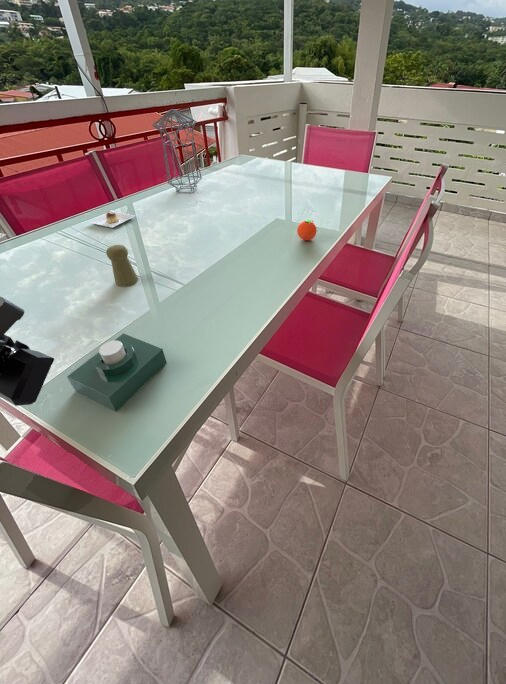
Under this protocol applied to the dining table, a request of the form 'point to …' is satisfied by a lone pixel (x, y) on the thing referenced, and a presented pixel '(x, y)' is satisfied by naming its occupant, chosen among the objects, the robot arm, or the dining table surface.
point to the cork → (121, 266)
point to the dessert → (112, 219)
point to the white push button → (112, 352)
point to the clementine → (306, 230)
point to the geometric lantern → (178, 115)
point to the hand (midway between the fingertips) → (51, 360)
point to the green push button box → (118, 373)
